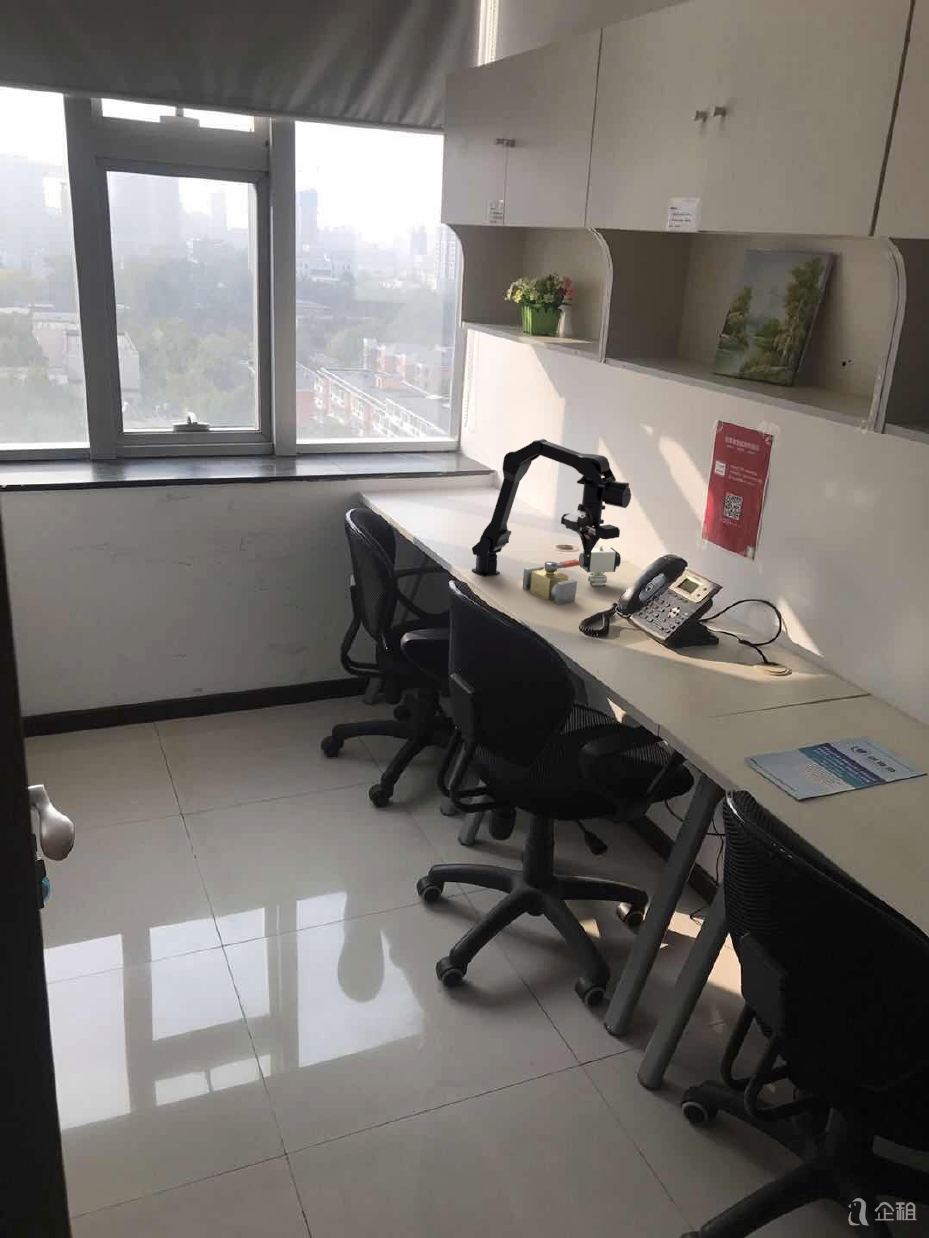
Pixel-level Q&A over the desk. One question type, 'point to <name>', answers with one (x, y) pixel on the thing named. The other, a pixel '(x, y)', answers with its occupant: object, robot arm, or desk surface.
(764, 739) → the desk surface
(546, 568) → the lever
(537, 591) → the valve pipe
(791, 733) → the desk surface
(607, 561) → the pneumatic valve
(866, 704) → the desk surface
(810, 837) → the desk surface
